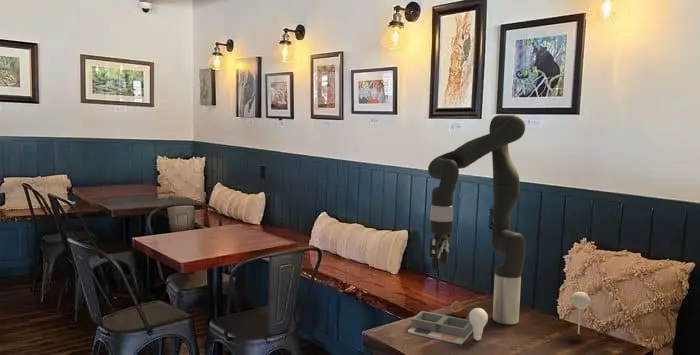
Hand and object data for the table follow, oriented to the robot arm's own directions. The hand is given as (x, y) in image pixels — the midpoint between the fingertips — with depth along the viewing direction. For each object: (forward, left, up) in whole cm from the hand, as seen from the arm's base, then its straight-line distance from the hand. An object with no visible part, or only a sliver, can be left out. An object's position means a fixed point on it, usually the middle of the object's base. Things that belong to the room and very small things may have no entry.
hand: (439, 266), depth 182 cm
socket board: (-3, 0, -24) cm, 24 cm away
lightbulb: (-3, +13, -24) cm, 28 cm away
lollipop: (-27, +42, -24) cm, 56 cm away
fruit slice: (-22, +1, -24) cm, 33 cm away
